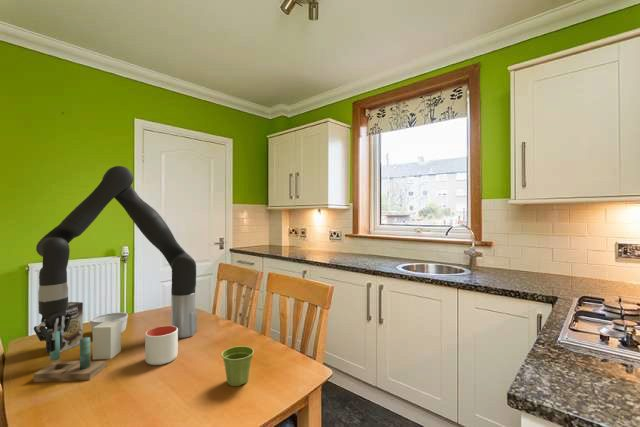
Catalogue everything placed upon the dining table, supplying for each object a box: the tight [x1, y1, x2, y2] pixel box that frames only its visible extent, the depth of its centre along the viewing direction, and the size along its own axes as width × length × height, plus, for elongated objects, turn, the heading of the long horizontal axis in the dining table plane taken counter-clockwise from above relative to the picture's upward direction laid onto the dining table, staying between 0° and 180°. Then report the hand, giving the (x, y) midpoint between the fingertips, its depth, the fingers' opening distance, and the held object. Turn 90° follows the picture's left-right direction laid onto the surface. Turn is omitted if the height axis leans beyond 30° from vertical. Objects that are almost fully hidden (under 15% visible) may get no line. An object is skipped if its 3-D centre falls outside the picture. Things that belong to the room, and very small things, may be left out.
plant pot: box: [221, 345, 255, 387], centre depth 93 cm, size 9×9×9 cm
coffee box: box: [45, 301, 84, 354], centre depth 117 cm, size 9×6×16 cm
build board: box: [33, 360, 80, 383], centre depth 97 cm, size 8×8×2 cm
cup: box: [144, 325, 179, 366], centre depth 107 cm, size 10×10×10 cm
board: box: [61, 336, 107, 382], centre depth 97 cm, size 8×8×11 cm
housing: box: [92, 321, 122, 360], centre depth 110 cm, size 6×6×11 cm
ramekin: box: [89, 312, 129, 335], centre depth 131 cm, size 13×13×7 cm
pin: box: [49, 331, 61, 362], centre depth 102 cm, size 3×3×9 cm
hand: (54, 349), depth 102 cm, fingers closed on pin, 2 cm apart
